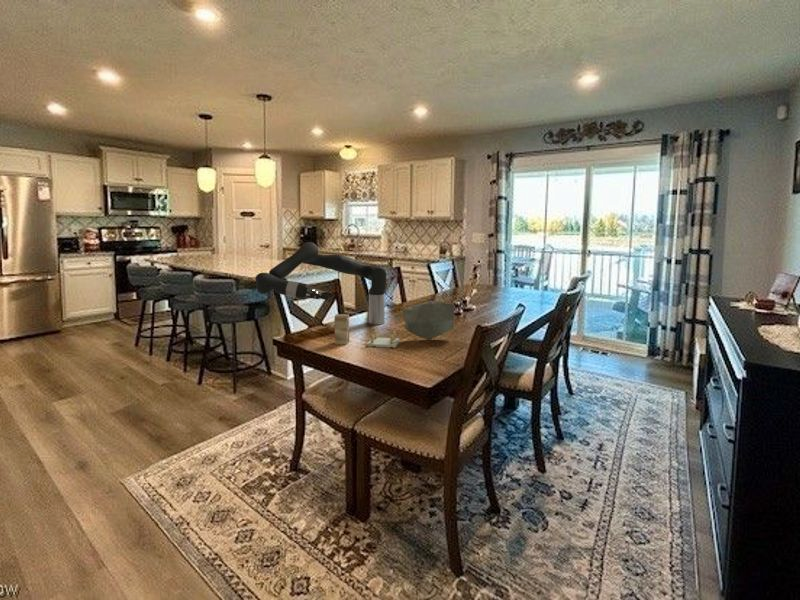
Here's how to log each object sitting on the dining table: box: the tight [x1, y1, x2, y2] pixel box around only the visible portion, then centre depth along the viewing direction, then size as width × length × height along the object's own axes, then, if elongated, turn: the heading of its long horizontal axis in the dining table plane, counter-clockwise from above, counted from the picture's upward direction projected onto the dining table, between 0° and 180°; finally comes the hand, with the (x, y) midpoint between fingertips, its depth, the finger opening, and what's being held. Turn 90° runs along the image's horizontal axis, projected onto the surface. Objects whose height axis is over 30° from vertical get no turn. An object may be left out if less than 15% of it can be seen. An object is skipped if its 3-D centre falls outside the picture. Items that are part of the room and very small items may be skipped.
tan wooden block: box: [334, 313, 350, 345], centre depth 211 cm, size 4×6×14 cm, turn 81°
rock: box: [401, 300, 456, 340], centre depth 218 cm, size 27×6×20 cm, turn 98°
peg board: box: [366, 330, 400, 349], centre depth 212 cm, size 12×14×5 cm
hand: (330, 296), depth 208 cm, fingers open, 8 cm apart
